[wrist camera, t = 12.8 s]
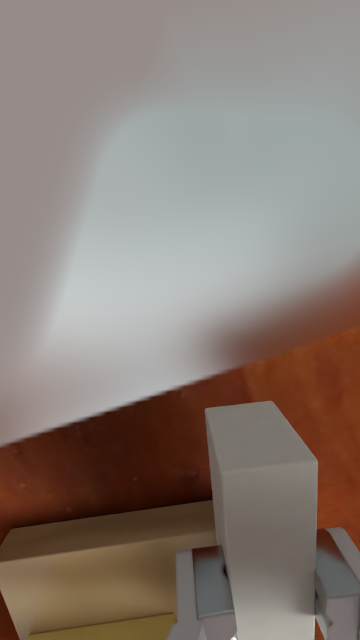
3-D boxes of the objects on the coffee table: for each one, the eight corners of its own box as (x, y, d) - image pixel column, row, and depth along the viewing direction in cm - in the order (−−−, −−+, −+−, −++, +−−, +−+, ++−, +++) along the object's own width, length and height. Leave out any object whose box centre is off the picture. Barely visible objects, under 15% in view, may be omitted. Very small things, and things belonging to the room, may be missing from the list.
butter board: (10, 528, 12) (-11, 564, 11) (271, 490, 12) (284, 521, 11) (73, 704, 15) (63, 751, 14) (281, 672, 16) (292, 715, 14)
